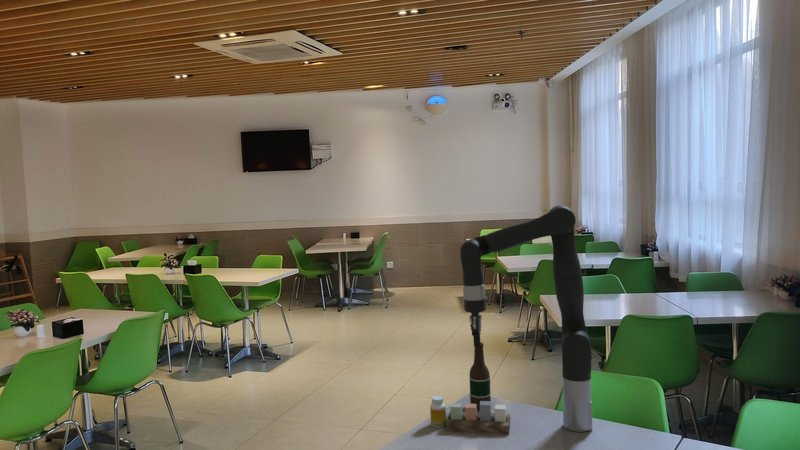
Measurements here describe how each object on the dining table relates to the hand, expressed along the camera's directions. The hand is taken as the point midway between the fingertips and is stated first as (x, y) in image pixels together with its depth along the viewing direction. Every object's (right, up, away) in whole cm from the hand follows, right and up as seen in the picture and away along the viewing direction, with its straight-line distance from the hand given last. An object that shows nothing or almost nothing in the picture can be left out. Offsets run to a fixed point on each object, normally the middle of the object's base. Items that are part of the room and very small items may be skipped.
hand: (477, 346), depth 213 cm
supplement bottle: (-13, -28, +1) cm, 31 cm away
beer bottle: (+3, -26, +17) cm, 31 cm away
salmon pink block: (-2, -26, -2) cm, 26 cm away
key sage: (-7, -26, -1) cm, 27 cm away
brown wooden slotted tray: (0, -27, -2) cm, 27 cm away
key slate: (+3, -25, -3) cm, 25 cm away
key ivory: (+7, -26, -4) cm, 27 cm away
